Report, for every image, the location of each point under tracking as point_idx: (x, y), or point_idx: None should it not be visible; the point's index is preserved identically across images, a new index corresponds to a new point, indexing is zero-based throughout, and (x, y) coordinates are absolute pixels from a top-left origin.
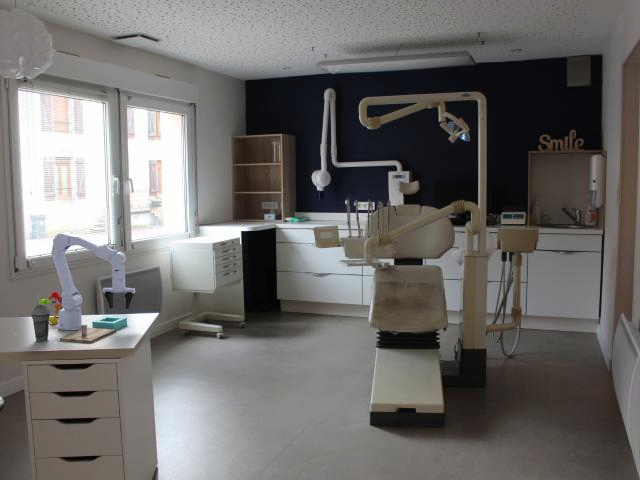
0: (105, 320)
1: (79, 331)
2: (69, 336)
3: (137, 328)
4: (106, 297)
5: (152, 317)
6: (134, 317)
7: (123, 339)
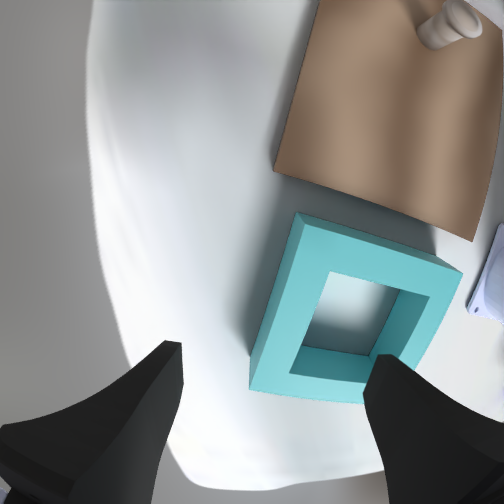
0: None
1: (484, 143)
2: (484, 45)
3: (152, 275)
4: (498, 428)
5: (175, 456)
6: (256, 462)
7: (165, 3)
